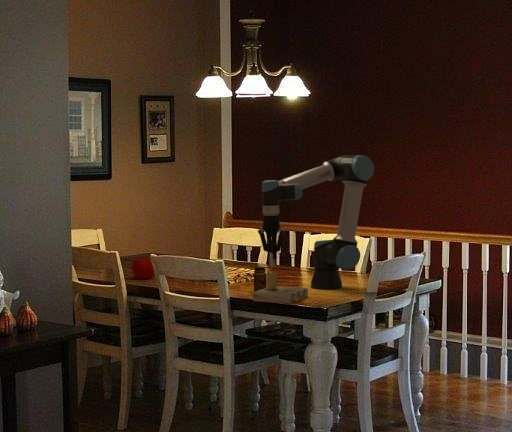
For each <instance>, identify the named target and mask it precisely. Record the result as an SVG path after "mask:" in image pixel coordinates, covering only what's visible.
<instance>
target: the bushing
mask: <svg viewBox="0 0 512 432" xmlns="http://www.w3.org/2000/svg"><path fill="white" fill-rule="evenodd" d="M277 274H278V272H277V271H267V272H266V283H267V284H266V285H267V290H268V291H276V290H277V286H278V281H277V280H278V275H277Z"/></svg>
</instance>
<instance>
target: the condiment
mask: <svg viewBox="0 0 512 432" xmlns="http://www.w3.org/2000/svg"><path fill="white" fill-rule="evenodd" d="M265 288H267V272H266V267H265V266H255V267H254V272H253V290H250V291H254V292H255V291H258V290H261V289H265Z"/></svg>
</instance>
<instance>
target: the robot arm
mask: <svg viewBox="0 0 512 432" xmlns="http://www.w3.org/2000/svg"><path fill="white" fill-rule="evenodd" d="M374 172H375V166H374V163H373V161H372V160H371V158H370V157H368V156H366V155H362V154H343V155H340V156H338V157H335V158H332V159H329V160H327V161H324V162H323V163H322V165H319V166H317V167H314V168H312V169H311V168H310V169H308V170H305V171H303V172H300V173H297V174H294V175H290V176H289V177H285V178H283V179H281V180H276V179H273V180H272V179H271V180H270V179H269V180H263V181H262V184H261V196H262V198H261V199H262V201H261V202H262V223H263V224H262V227H261V228H260V229H258V230H257V233H258V235H259V238H260V242H261V245H262V250H263V252H266V253H267V260H269V268H275V267H276V260H277V252H279V251H281V250H282V249H281V248H282V244H283V239H284V235H285V233H286V230H285V229H282V228H281V224H280V215H279V214H280V202H282V201H295V200H300V199H301V198H302V197H303V190H304V189H308V188H310V187H313V186H315V185H318V184H321V183H323V182H326V181H328V182H332V181H335V180H342V183H343V185H344V189H343V191H344V192H343V196H342V203H341V209H340V215H339V222H338V228H337V233H336V236H335V237H333V239H325V240H322V239H321V240H316V241H315V242H314V245H313V260H314V261H313V262H314V263H313V265H314V267H313V270H314V271H313V275H312V278H311V282H310V288H311V289H315V290H335V289H336V290H338V289H341V288H343V281H342V279H341V278H342V277H341V275H340V273H339V269H340V270H351V269H353V268H355V267H356V266H357V265H358V264H359V262H360V259H361V252H360V249H359V248H358V240H356V236H357V235H356V234H357V229H358V223H359V221H358V220H359V215H360V210H361V209H360V208H361V203H362V197H363V191H364V189H365V187H367V185H368V180H370V179H371V178H372V177H373V175H374Z"/></svg>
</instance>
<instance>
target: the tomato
mask: <svg viewBox="0 0 512 432" xmlns="http://www.w3.org/2000/svg"><path fill="white" fill-rule="evenodd" d="M150 258H151V257H147V256H145V257H144V256H142V257H141V256H139V257H137V258H135V259H134V260H133V261H132V263H131V272H132V274H133V276H134V278H136V279H139V280H144V279H145V278H147V279H151V278H153V277H154V276H155V275H154V270H153V266H152V263H151V259H152V258H151V259H150ZM145 280H146V279H145Z"/></svg>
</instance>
